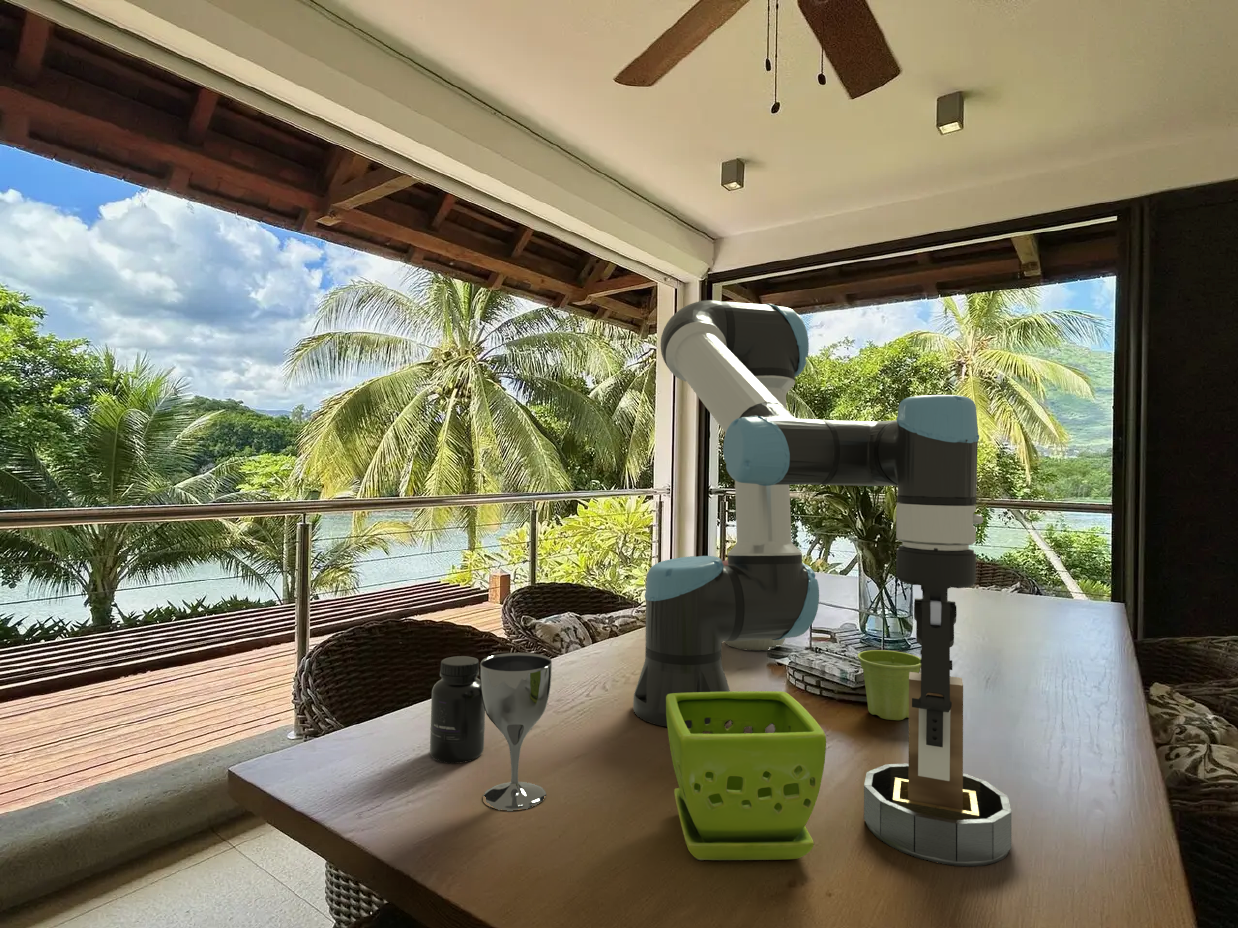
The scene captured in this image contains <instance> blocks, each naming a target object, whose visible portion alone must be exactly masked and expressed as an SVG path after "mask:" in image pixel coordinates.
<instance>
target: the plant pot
mask: <svg viewBox="0 0 1238 928" xmlns="http://www.w3.org/2000/svg"><path fill="white" fill-rule="evenodd" d="M857 659H858V660H859V662H860V666H861V670H862V672H863V679H864V686H865V693H866V702H867V710H868V712H869V714H870V715H873V716H875V715H876V716H878V717H879V718H880V719H883V720H887V721H888V720H890V721H903V720H904V719H906V718H908V719H909V673H910V672H916V673H920V668H921V664H920V659H921V657H919V656H917V655H915V654H912V653H911V654H910V653H907V652H904V651H903V652H902V651H894V650H886V649H885V650H883V649H882V650H881V649H874V650H873V649H872V650H870V649H869V650H865V651H861V652H859V653H857Z"/></svg>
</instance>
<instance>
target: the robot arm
mask: <svg viewBox="0 0 1238 928" xmlns="http://www.w3.org/2000/svg"><path fill="white" fill-rule="evenodd" d="M809 344H810V343H809V336H808V331H807V328H806V324H805V322H804V320H803V319H802V317H801V316H800V315H799V314H798V313H797V312H796V311H795V310H794V309H792V308H790V307H786V306H779V305H775V304H772V303H764V304H761V303H746V302H736V301H734V302H733V301H721V300H712V299H707V300H706V299H705V300H699V301H695V302H692V303H690V304H687V305H685V306H684V307H682V308H680V309H679V310H678V311H677V312H675V313H674V314H673V315H672V316H671V317H670V318H669V320H668V321H667V323H666V324H665V326H664V327H663V331H662V333H661V337H660V352H661V353H660V354H661V356H662V357H661V358H662V360H663V362H664V363H665V366H666V367H667V368H668V369H669V371H670V373H671V374H672V375H673V376H675V377H676V378H677V379H679V380H681V381H684V382H686V383H687V384H688V385H689V387H690V388H691V389H692V390H693V392H694V393H695V394H696V396H697V397H698V398H699V400H700V402H702V404H703V405H704V407H705V408H706V409H707V410H708V412H709V413H710V414H711V416H712V418H714V420H715V421H716V423H718V425H719V427H720V428H721V429H722V430H723V432H724V433H725V434H724V438H723V449H722V450H723V451H722V452H723V454H722V455H723V460H724V462H725V464H726V465H725V468H726V472H727V473H728V475H729V476H730V478H731V479H732V480H734V487H735V488H734V491H735V492H734V493H735V521H736V523H735V524H736V525H735V526H736V542H735V545H734V546H733V547H732V548H731V549H730V550H729V551H728V553H727V560H728V565H726V566H724V565H723V563H722V561H723V560H722V559H721V558H720V557H718V556H714V555H699V556H695V555H692V556H683V557H676V558H671V559H666V560H662V561H660V562H657V563H655V564H653V565H652V566H651V567H650V568H649V569H648V571H647V575H646V584H645V586H646V587H645V593H644V599H645V652H644V653H645V654H644V655H645V657H644V663H643V667H642V669H641V672H640V675H639V679H638V681H637V684H636V687H635V690H634V694H633V698H632V701H633V702H632V704H633V705H632V707H633V709H632V710H634V711H633V713H634V712H635V713H634V715H635V714H636V715H637V716H636V717H637V718H639V717H640V718H639V719H640V720H642V719H643V720H642V721H644V720H645V722H647V723H650V724H653V725H657V726H661V727H667V718H666V696H667V695H668V694H672V693H690V692H731V691H730V686H729V684H728V680H727V677H726V673H725V670H724V667H723V664H722V647H723V646H722V645H723V643H725V642H724V641H744V640H762V639H772V640H781V639H783V638H785V639H791V638H797V637H800V636H802V635H804V634H805V633H807V631H808V630H809V629H810V627H811V626H812V625H813V623H814V621H815V619H816V616H817V614H818V613H817V612H818V610H819V605H820V603H819V602H820V587H819V582H818V579H816V573H815V571H814V570H813V569H812V568H811V567H810V566H809V565H808V564H806V563H804V562H803V553H802V551H801V550H799V548H798V547H796V546H795V544H794V543H793V542H792V527H791V526H792V519H791V498H790V496H791V494H790V493H791V492H790V485H791V486H792V485H793V486H794V485H799V486H800V485H810V486H811V485H813V486H814V485H815V486H816V485H817V486H819V485H820V486H857V487H858V486H860V487H863V486H867V487H875V486H877V487H889V486H890V487H897V496H896V498H897V499H896V507H895V508H896V511H895V512H896V515H895V516H896V522H895V523H896V526H895V527H896V531H895V534H896V535H895V538H896V540H898V541H900V542H901V545H898V548H896V559H895V560H896V565H895V566H896V569H895V570H896V571H895V572H896V573H895V575H896V578H897V579H898V580H899V582H902V583H904V584H907V585H913V586H920V590H921V591H922V595H921V596H922V597H921V598H920V597H914V603H913V605H914V606H913V619H914V620H915V622H916V623H915V626H916V627H915V629H916V631H915V633H916V634H915V637H916V638H915V639H916V643H918V644H919V645H920V646H921V648H920V654H919V655H920V656H921V657H920V658H921V659H920V664H921V666H920V671H919V673H921V697H920V698H919V699H916V698H912V707H913V708H919V738H918V776H923V777H928V778H934V779H940V780H945V781H950V710H951V708H952V702H951V701H950V676H951V671H953V660H951V650H950V649H951V648H952V647H953V646H954V644H955V624H956V622H957V615H958V614H957V612H958V611H957V605H956V601H955V600H948V596H949V595H948V590H949V589H951V588H952V589H953V588H955V589H967V588H970V587H972V586H974V585H975V584H976V582H977V581H976V580H977V553H976V552H975V550H974V549H972V548H969V547H970V545H973V544H975V543H976V540H977V539H976V531H977V528H976V527H975V526H974V525H980V524H982V523H983V522H984V517H983V515H981V514H975V512H976V511H977V506H976V505H977V495H978V494H977V492H978V491H977V490H978V488H977V487H978V446H979V445H978V443H979V440H980V434H979V432H978V431H979V429H978V427H979V426H978V417H977V416H978V415H977V406H976V404H975V401H974V400H973V399H972V398H971V397H967V396H963V395H958V394H957V395H955V394H953V395H952V394H931V395H930V394H929V395H916V396H915V395H914V396H909V397H906V398H904V399H902V400H901V401H900V402H899V404H898V411H897V417H896V419H895V420H881V421H880V420H879V421H878V420H877V421H876V420H875V421H872V420H871V421H867V420H866V421H865V420H842V419H841V420H838V419H836V420H835V419H834V420H832V419H817V418H815V419H813V418H812V419H811V418H798V417H794V415H793V414H792V413H791V412H790V411H789V410H788V409H787V394H788V392H789V391H790V390H791V389H792V388H793V387H794V386H795V384H796V377H798V376H799V375H801V373H803V371H804V369H805V368H806V364H807V360H806V358H807V357H809V350H810V348H809V347H810V346H809ZM927 693H936V694H941V695H942V696H943V697H942V696H934V695H927V696H926V694H927ZM709 723H710V718H706V719H705V724H709ZM685 724H686V726H687V728H688V729H690V728H691V725H692V724H691V721H690V720H687V721H685Z"/></svg>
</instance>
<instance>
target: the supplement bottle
mask: <svg viewBox="0 0 1238 928" xmlns="http://www.w3.org/2000/svg"><path fill="white" fill-rule="evenodd" d="M479 663H480V662H479V659H478V658H476V657H474V656H465V655H461V656H460V655H457V656H451V657H446V658H443V659H441V661H440V671H439V677H441V679H439V680H438V681H436V683H434V685H433V687H432V689H431V702H430V703H431V706H430V707H431V708H430V709H431V711H430V735H429V736H430V737H429V738H430V739H429V753H430V755H431V757H432V758H433V759H434V760H435V761H437V760H438V762H440V761H441V763H444V762H447V763H446V764H461V763H460V762H463V763H466V762H465V761H468V762H471V761H474V760H475V758H476V759H477V758H479V757H480V756H481V755H482V754H483V752H484V749H485V730H486V729H485V728H486V727H485V725H486V723H485V722H486V720H485V719H486V711H485V708H484V704H483V700H482V694H481V686H480V678H478V676H480V669H479V667H480V664H479ZM473 759H474V760H473ZM470 760H471V761H470Z"/></svg>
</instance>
